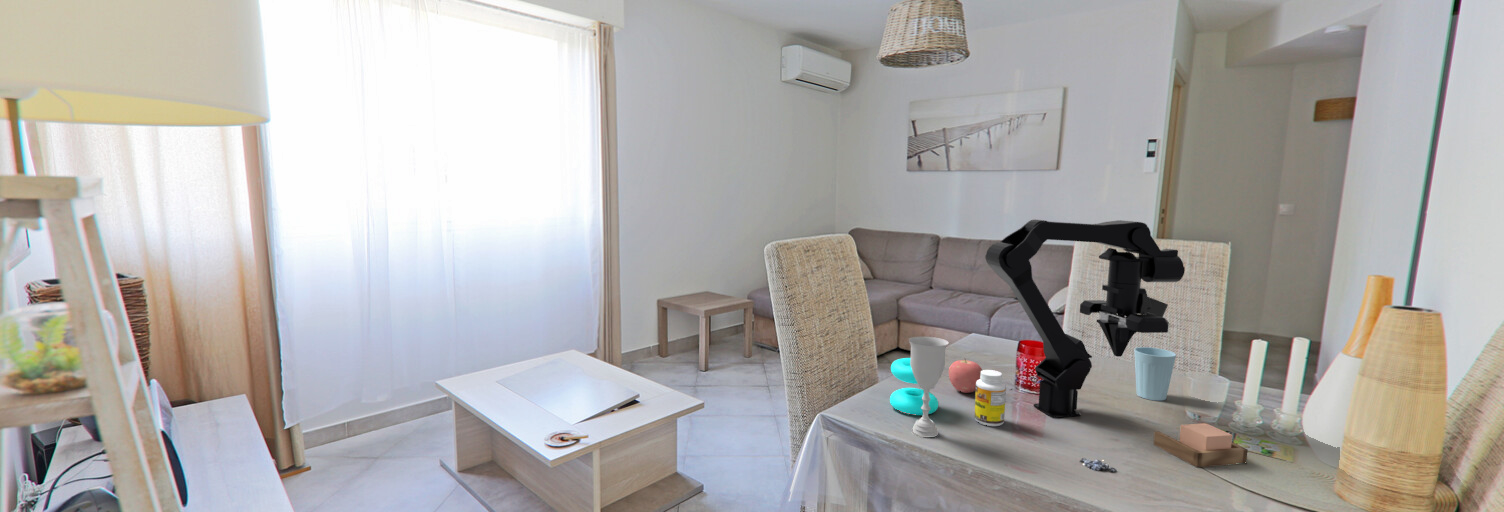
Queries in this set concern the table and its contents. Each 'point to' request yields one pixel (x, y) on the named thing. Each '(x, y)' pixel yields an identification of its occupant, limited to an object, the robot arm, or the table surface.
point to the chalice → (927, 375)
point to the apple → (964, 375)
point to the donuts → (909, 390)
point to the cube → (1204, 437)
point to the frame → (1201, 452)
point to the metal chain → (1097, 465)
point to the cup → (1153, 372)
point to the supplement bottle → (990, 398)
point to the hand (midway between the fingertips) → (1117, 356)
